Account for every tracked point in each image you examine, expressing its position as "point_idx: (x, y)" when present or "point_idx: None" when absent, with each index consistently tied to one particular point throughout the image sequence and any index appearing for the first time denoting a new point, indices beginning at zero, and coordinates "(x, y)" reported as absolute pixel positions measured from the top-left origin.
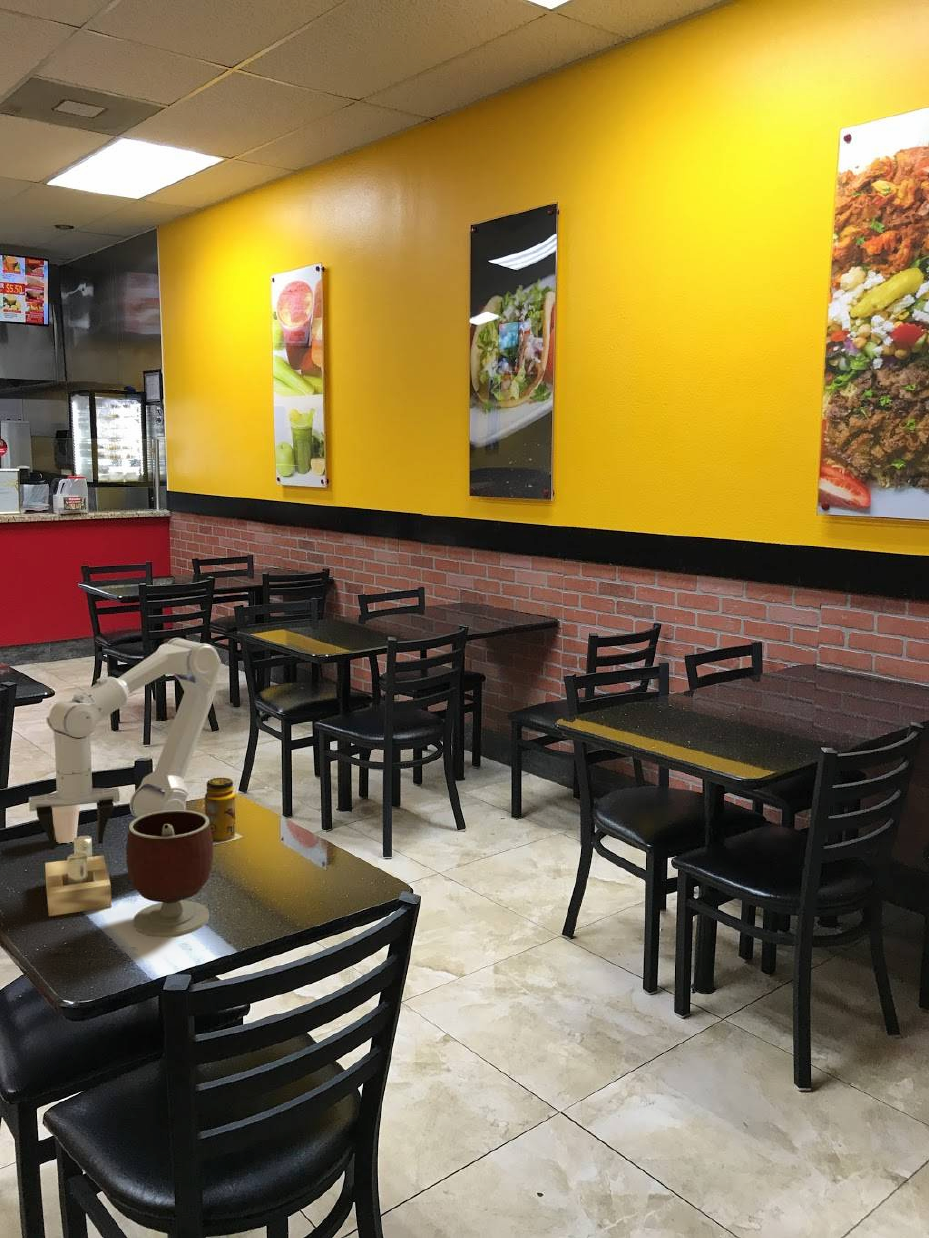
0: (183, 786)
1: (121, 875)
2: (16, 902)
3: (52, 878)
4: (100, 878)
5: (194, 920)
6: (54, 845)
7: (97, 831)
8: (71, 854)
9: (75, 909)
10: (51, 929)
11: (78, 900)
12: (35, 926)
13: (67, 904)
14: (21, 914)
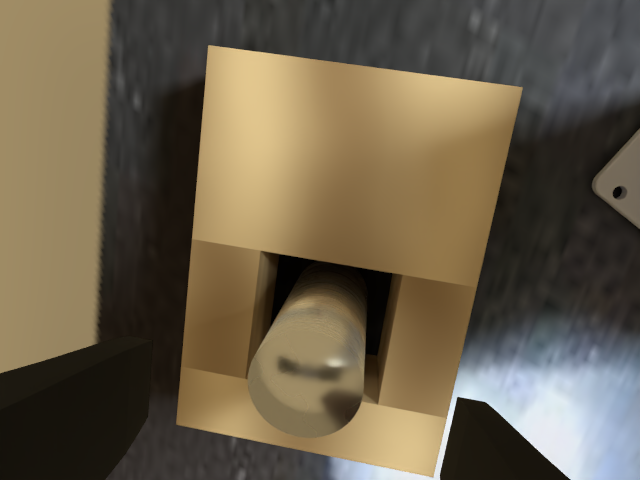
0: None
1: (561, 132)
2: (121, 198)
3: (214, 273)
4: (413, 387)
5: None
6: (126, 445)
7: (473, 451)
8: (279, 337)
9: None
10: (206, 468)
11: None
12: (164, 423)
13: None
14: (130, 311)
